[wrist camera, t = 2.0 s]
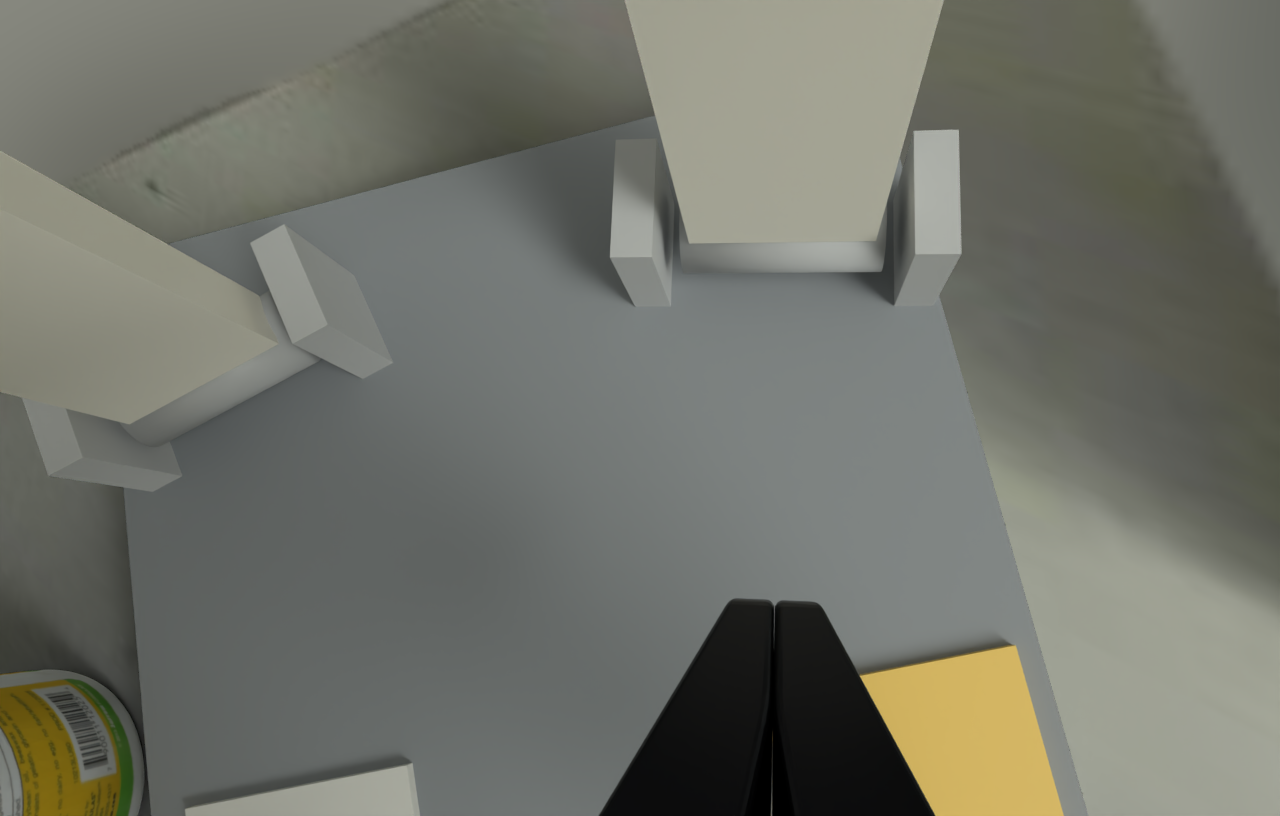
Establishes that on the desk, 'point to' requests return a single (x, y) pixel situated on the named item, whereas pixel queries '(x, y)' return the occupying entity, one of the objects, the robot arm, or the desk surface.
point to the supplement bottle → (66, 748)
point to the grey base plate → (563, 501)
